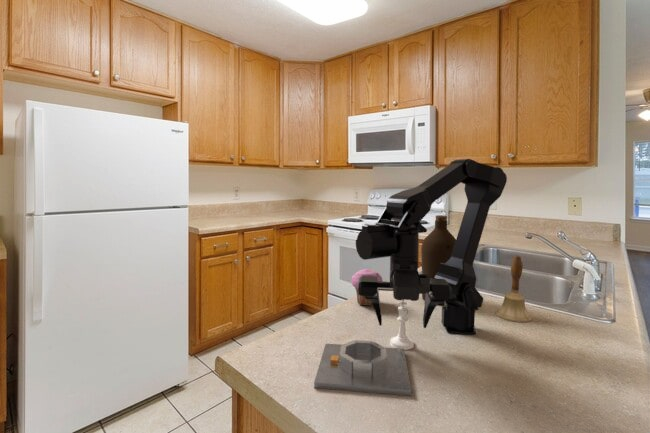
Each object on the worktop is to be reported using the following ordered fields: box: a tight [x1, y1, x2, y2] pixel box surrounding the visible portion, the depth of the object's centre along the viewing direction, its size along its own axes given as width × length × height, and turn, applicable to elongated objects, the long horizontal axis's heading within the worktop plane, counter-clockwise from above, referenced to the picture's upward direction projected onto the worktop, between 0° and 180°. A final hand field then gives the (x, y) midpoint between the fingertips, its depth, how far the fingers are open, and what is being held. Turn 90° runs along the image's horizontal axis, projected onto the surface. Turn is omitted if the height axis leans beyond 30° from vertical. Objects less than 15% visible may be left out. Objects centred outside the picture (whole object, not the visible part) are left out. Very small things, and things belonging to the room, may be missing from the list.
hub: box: [313, 339, 412, 397], centre depth 63 cm, size 16×14×4 cm
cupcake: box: [350, 268, 383, 306], centre depth 97 cm, size 9×9×10 cm
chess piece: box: [389, 300, 415, 351], centre depth 73 cm, size 5×5×10 cm
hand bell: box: [495, 255, 533, 323], centre depth 88 cm, size 8×8×16 cm
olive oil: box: [420, 214, 457, 306], centre depth 100 cm, size 11×11×25 cm
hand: (402, 326), depth 73 cm, fingers open, 9 cm apart
